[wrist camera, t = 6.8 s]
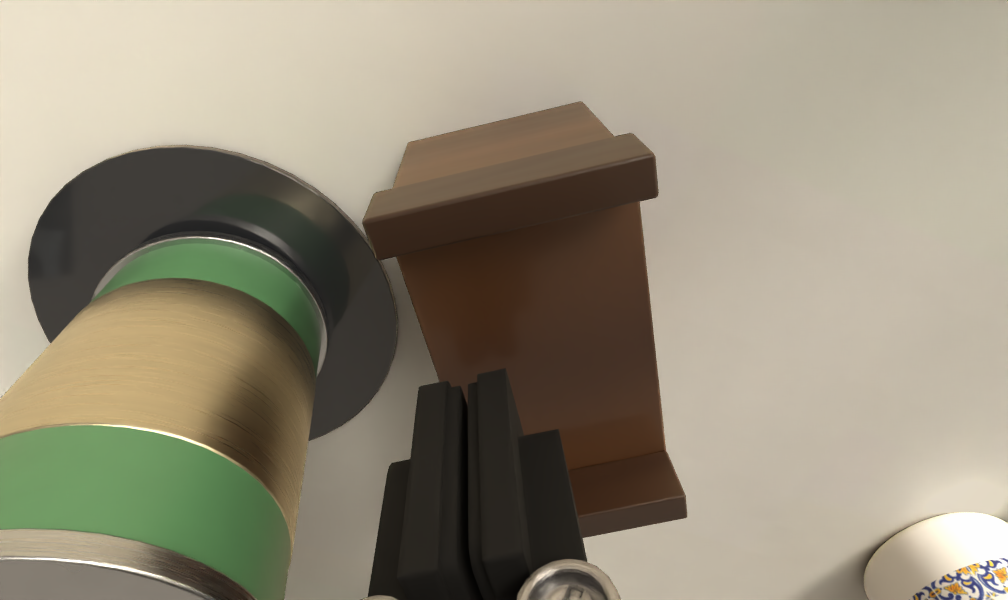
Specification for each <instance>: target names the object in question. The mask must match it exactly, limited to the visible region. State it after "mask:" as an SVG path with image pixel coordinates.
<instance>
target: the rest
mask: <svg viewBox="0 0 1008 600" xmlns="http://www.w3.org/2000/svg"><path fill="white" fill-rule="evenodd" d="M658 193H659V192H658V181H657V170H656V158H655V155H654V153H653V152H652V151H651V150H650V149H649V148H648V147H647V146H645V145H644V144H643V143H642V142H641V141H640V140H639V139H638V138H637V137H636V136H635V135H634V134H632V133H628V134H624V135H619V136H615V137H614V135H613V134H612V133H611V132H610V131H609V130H608V129H607V128H606V127H605V126H604V125H603V124H602V122H601V121H600V120H599V119H598V118H597V117H596V116H595V115H594V114H593V113H592V112H591V111H590V109H589V108H588V107H587V106H586V105H585V104H584V103H583V102H581V101H580V102H576V103H572V104H568V105H564V106H559V107H555V108H551V109H547V110H543V111H538V112H534V113H530V114H526V115H522V116H517V117H513V118H509V119H505V120H501V121H496V122H492V123H488V124H484V125H480V126H475V127H471V128H467V129H463V130H459V131H454V132H450V133H446V134H442V135H438V136H433V137H429V138H425V139H421V140H417V141H412V142H409V143H408V144H407V147H406V150H405V153H404V156H403V159H402V162H401V164H400V167H399V170H398V173H397V176H396V179H395V182H394V185H393V188H392V189H388V190H384V191H380V192H376V193H375V194H374V195H373V197H372V199H371V202H370V204H369V206H368V209H367V211H366V214H365V216H364V218H363V222H362V224H363V227H364V230H365V232H366V235H367V238H368V240H369V243H370V246H371V249H372V251H373V254H374V257H375V258H376V260H384V259H388V258H393V257H396V258H397V261H398V264H399V267H400V270H401V272H402V275H403V278H404V281H405V284H406V287H407V290H408V293H409V295H410V298H411V301H412V304H413V307H414V310H415V313H416V316H417V319H418V321H419V324H420V327H421V330H422V333H423V336H424V339H425V342H426V344H427V347H428V350H429V353H430V356H431V359H432V362H433V365H434V368H435V370H436V373H437V376H438V379H439V382H443V381H449V383H450V385H451V387H456V386H461V388H462V391H463V393H464V396H465V400H466V403H467V406H468V384H470V383H475V382H477V375H478V374H480V373H485V372H490V371H494V370H499V369H504V368H505V369H506V371H507V374H508V377H509V381H510V385H511V388H512V392H513V396H514V399H515V403H516V407H517V411H518V414H519V418H520V422H521V425H522V429H523V433H524V436H526V435H530V434H535V433H540V432H545V431H550V430H555V429H559V432H560V437H561V441H562V445H563V450H564V454H565V459H566V463H567V468H568V472H569V477H570V481H571V486H572V491H573V495H574V500H575V505H576V510H577V515H578V519H579V524H580V529H581V534H582V538H585V537H590V536H596V535H601V534H606V533H611V532H616V531H621V530H626V529H632V528H637V527H642V526H647V525H652V524H657V523H662V522H668V521H673V520H678V519H683V518H686V517H687V506H686V495H685V493H684V491H683V488H682V486H681V484H680V481H679V479H678V477H677V474H676V472H675V469H674V467H673V465H672V462H671V460H670V458H669V455H668V453H667V452H666V445H665V435H664V426H663V416H662V407H661V398H660V388H659V379H658V369H657V360H656V351H655V341H654V332H653V322H652V313H651V304H650V294H649V285H648V276H647V266H646V257H645V247H644V238H643V229H642V219H641V210H640V201H644V200H648V199H653V198H656V197H658Z"/></svg>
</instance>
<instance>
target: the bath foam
mask: <svg viewBox="0 0 1008 600" xmlns="http://www.w3.org/2000/svg"><path fill="white" fill-rule="evenodd" d="M864 589H865V592H866V595H867V597H868V599H869V600H1008V523H1006V522H1005V521H1003V520H1001V519H999V518H996V517H994V516H991V515H987V514H982V513H973V512H961V513H951V514H945V515H940V516H936V517H933V518H930V519H927V520H924V521H921V522H919V523H916V524H914V525H912V526H910V527H908V528H906V529H904V530H902V531H901V532H899V533H897V534H896V535H894V536H893V537H892V538H890V539H889V540H888V541H886V542H885V543H884V544H883V545H882V546H881V547H880V548H879V549H878V550H877V551H876V552H875V554H874V555H873V556H872V558H871V559H870V561H869V563H868V565H867V567H866V570H865V573H864Z"/></svg>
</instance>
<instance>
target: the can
mask: <svg viewBox="0 0 1008 600" xmlns="http://www.w3.org/2000/svg"><path fill="white" fill-rule="evenodd" d="M327 345H328V322H327V316H326V313H325V309H324V306H323V304H322V301H321V299H320V297H319V295H318V293H317V292H316V290H315V289H314V287H313V285H312V284H311V282H310V281H309V280H308V279H307V278H306V277H305V275H304V274H303V273H302V272H301V271H300V270H299V269H298V268H297V267H296V266H294V265H293V264H292V263H291V262H290V261H289V260H287V259H286V258H284V257H283V256H281V255H280V254H279V253H277V252H275V251H273V250H272V249H270V248H268V247H266V246H264V245H262V244H259V243H257V242H255V241H252V240H250V239H247V238H243V237H240V236H236V235H232V234H226V233H221V232H211V231H187V232H179V233H173V234H167V235H164V236H161V237H157V238H154V239H151V240H149V241H147V242H145V243H142V244H140V245H138V246H137V247H135V248H133V249H132V250H130V251H129V252H127V253H126V254H125V255H123V256H122V257H121V258H120V259H119V260H118V261H117V262H115V264H114V265H113V266H112V267H111V268H110V269H109V270H108V271H107V273H106V274H105V275H104V276H103V277H102V279H101V280H100V282H99V284H98V286H97V287H96V289H95V291H94V294H93V297H92V300H91V302H90V303H89V304H88V305H87V306H86V307H85V308H84V309H83V310H82V311H80V312H79V313H78V314H77V315H76V316H75V318H74V319H73V320H72V321H71V322H70V323H69V324H68V325H67V326H66V327H65V329H64V330H63V331H62V332H61V333H60V334H59V335H58V336H57V337H56V338H55V340H54V341H53V342H52V343H51V344H50V345H49V346H48V347H47V348H46V349H45V350H44V352H43V353H42V354H41V355H40V356H39V357H38V358H37V359H36V360H35V361H34V363H33V364H32V365H31V366H30V367H29V368H28V369H27V370H26V371H25V372H24V374H23V375H22V376H21V377H20V378H19V379H18V380H17V381H16V382H15V383H14V384H13V386H12V387H11V388H10V389H9V390H8V391H7V392H6V393H5V394H4V395H3V397H2V398H1V399H0V600H284V596H285V590H286V583H287V576H288V569H289V566H290V563H291V557H292V552H293V545H294V538H295V531H296V524H297V517H298V510H299V503H300V496H301V489H302V482H303V475H304V468H305V461H306V454H307V446H308V439H309V432H310V425H311V418H312V411H313V404H314V397H315V390H316V378H317V376H318V374H319V372H320V370H321V368H322V366H323V363H324V360H325V357H326V351H327Z"/></svg>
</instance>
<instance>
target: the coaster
mask: <svg viewBox="0 0 1008 600" xmlns="http://www.w3.org/2000/svg"><path fill="white" fill-rule="evenodd" d="M187 231H211V232H221V233H226V234H232V235H236V236H240V237H243V238H247V239H250V240H252V241H255V242H257V243H259V244H262V245H264V246H266V247H268V248H270V249H272V250H273V251H275V252H277V253H279V254H280V255H281V256H283V257H284V258H286V259H287V260H289V261H290V262H291V263H292V264H293V265H294V266H296V267H297V268H298V269H299V270H300V271H301V272H302V273H303V274H304V275H305V277H306V278H307V279H308V280H309V281H310V282H311V284H312V285H313V287H314V289H315V290H316V292H317V293H318V295H319V297H320V299H321V301H322V304H323V306H324V309H325V313H326V316H327V322H328V345H327V351H326V357H325V360H324V363H323V366H322V368H321V370H320V372H319V374H318V376H317V378H316V390H315V397H314V404H313V411H312V418H311V425H310V432H309V439H308V441H310V440H312V439H315V438H318V437H320V436H323V435H325V434H327V433H329V432H331V431H333V430H335V429H336V428H338V427H340V426H342V425H343V424H345V423H346V422H347V421H349V420H350V419H351V418H353V417H354V416H356V415H357V414H358V413H359V412H360V411H361V410H362V409H363V408H364V407H365V406H366V405H367V404H368V403H369V402H370V401H371V399H372V398H373V397H374V395H375V394H376V393H377V392H378V390H379V389H380V387H381V385H382V383H383V381H384V380H385V378H386V376H387V374H388V371H389V368H390V365H391V363H392V360H393V356H394V351H395V345H396V340H397V311H396V303H395V298H394V294H393V291H392V287H391V284H390V280H389V278H388V275H387V273H386V271H385V269H384V266H383V264H382V262H381V260H376V258H375V257H374V254H373V251H372V249H371V246H370V243H369V240H368V239H367V238H366V237H365V235H364V234H363V233H362V232H361V230H360V229H359V228H358V226H357V225H356V224H355V223H354V222H353V221H352V220H351V219H350V218H349V217H348V216H347V215H346V214H345V213H344V212H343V211H342V210H341V209H340V208H339V207H338V206H337V205H336V204H335V203H334V202H332V201H331V200H330V199H328V198H327V197H326V196H325V195H323V194H322V193H321V192H319V191H318V190H317V189H316V188H314V187H313V186H311V185H309V184H308V183H306V182H304V181H303V180H301V179H299V178H298V177H296V176H295V175H293V174H291V173H289V172H287V171H285V170H282V169H280V168H278V167H276V166H274V165H272V164H270V163H267V162H265V161H262V160H259V159H256V158H253V157H250V156H247V155H244V154H241V153H237V152H232V151H227V150H223V149H218V148H213V147H203V146H192V145H169V146H155V147H149V148H143V149H137V150H132V151H129V152H126V153H123V154H120V155H117V156H114V157H111V158H108V159H106V160H104V161H102V162H100V163H98V164H96V165H95V166H93V167H91V168H89V169H87V170H85V171H83V172H82V173H80V174H79V175H78V176H76V177H75V178H74V179H72V180H71V181H70V182H68V183H67V184H66V185H65V186H64V187H63V188H62V189H61V190H60V191H59V192H58V193H57V194H56V195H55V196H54V198H53V199H52V200H51V201H50V202H49V204H48V206H47V207H46V209H45V210H44V212H43V214H42V215H41V217H40V218H39V221H38V224H37V226H36V229H35V231H34V234H33V236H32V240H31V246H30V251H29V257H28V281H29V287H30V293H31V299H32V302H33V305H34V308H35V311H36V315H37V318H38V320H39V322H40V324H41V326H42V328H43V331H44V333H45V335H46V337H47V339H48V340H49V342H50V343H52V342H53V341H54V340H55V338H56V337H57V336H58V335H59V334H60V333H61V332H62V331H63V330H64V329H65V327H66V326H67V325H68V324H69V323H70V322H71V321H72V320H73V319H74V318H75V316H76V315H77V314H78V313H79V312H80V311H82V310H83V309H84V308H85V307H86V306H87V305H88V304H89V303H90V302H91V300H92V297H93V294H94V291H95V289H96V287H97V286H98V284H99V282H100V280H101V279H102V277H103V276H104V275H105V274H106V273H107V271H108V270H109V269H110V268H111V267H112V266H113V265H114V264H115V262H117V261H118V260H119V259H120V258H121V257H122V256H123V255H125V254H126V253H127V252H129V251H130V250H132V249H133V248H135V247H137V246H138V245H140V244H142V243H145V242H147V241H149V240H151V239H154V238H157V237H161V236H164V235H167V234H173V233H179V232H187Z"/></svg>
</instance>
